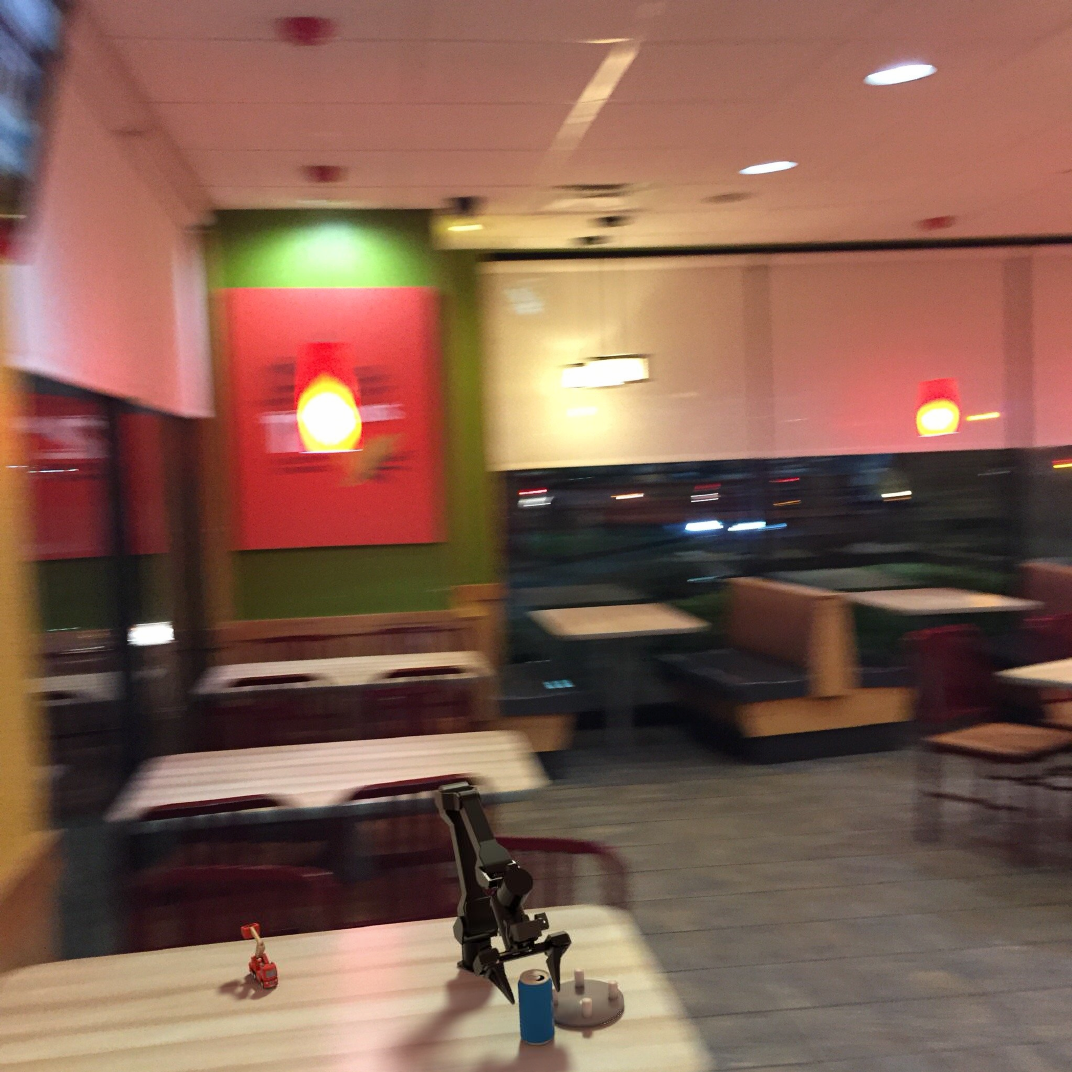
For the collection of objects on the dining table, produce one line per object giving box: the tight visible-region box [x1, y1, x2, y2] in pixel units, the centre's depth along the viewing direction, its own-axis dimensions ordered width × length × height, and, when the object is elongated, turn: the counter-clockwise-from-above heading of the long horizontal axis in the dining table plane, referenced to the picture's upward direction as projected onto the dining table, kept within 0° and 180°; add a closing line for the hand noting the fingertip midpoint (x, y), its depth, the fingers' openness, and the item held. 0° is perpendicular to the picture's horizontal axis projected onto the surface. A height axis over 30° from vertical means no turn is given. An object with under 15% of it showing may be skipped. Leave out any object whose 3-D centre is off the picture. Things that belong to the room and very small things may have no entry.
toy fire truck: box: [240, 922, 279, 989], centre depth 224 cm, size 3×14×10 cm, turn 34°
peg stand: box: [552, 967, 625, 1029], centre depth 206 cm, size 16×16×4 cm
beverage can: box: [517, 968, 556, 1046], centre depth 195 cm, size 6×6×12 cm
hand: (536, 997), depth 194 cm, fingers open, 9 cm apart
